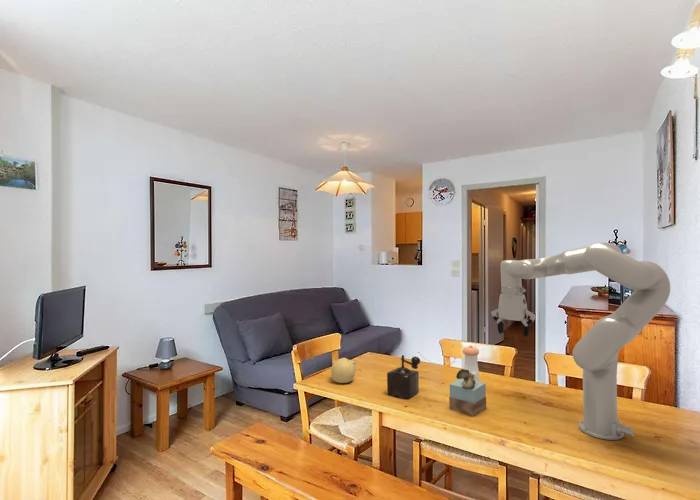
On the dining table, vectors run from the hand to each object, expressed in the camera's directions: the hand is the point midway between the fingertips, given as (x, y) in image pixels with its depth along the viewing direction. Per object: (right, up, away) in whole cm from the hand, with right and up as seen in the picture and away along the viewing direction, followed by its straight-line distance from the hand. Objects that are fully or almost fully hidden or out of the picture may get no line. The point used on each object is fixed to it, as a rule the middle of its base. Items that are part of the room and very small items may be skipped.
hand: (513, 334), depth 150 cm
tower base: (-19, -29, -3) cm, 34 cm away
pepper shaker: (-10, -29, +19) cm, 36 cm away
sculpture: (-68, -30, +32) cm, 81 cm away
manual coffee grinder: (-40, -29, +13) cm, 51 cm away
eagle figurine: (-20, -19, -4) cm, 28 cm away
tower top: (-19, -24, -2) cm, 30 cm away
